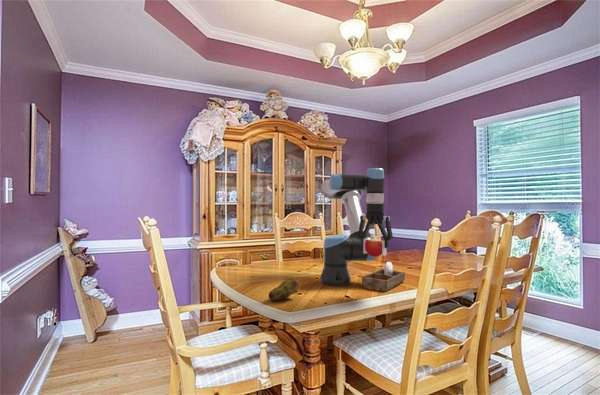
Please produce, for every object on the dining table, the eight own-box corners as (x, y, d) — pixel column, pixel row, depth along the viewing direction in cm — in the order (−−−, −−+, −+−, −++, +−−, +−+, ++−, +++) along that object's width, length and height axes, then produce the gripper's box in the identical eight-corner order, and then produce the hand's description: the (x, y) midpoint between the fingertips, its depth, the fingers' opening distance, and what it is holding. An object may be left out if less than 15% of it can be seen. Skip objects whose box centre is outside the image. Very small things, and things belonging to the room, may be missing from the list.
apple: (364, 254, 149) (364, 232, 149) (383, 254, 147) (383, 232, 147) (365, 257, 140) (365, 234, 140) (385, 258, 139) (385, 234, 139)
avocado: (266, 297, 136) (266, 278, 136) (296, 295, 139) (296, 276, 139) (269, 303, 128) (269, 283, 128) (301, 301, 131) (301, 281, 131)
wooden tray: (362, 287, 153) (362, 277, 153) (381, 278, 172) (381, 269, 172) (387, 291, 146) (387, 281, 146) (404, 281, 164) (404, 272, 164)
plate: (384, 281, 160) (384, 263, 160) (391, 278, 167) (391, 260, 167) (385, 281, 159) (385, 263, 159) (392, 278, 166) (392, 260, 167)
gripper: (349, 202, 148) (349, 252, 147) (394, 203, 135) (394, 258, 134) (357, 202, 153) (357, 250, 153) (401, 203, 141) (401, 255, 140)
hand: (374, 254), depth 144 cm, fingers closed on apple, 8 cm apart
